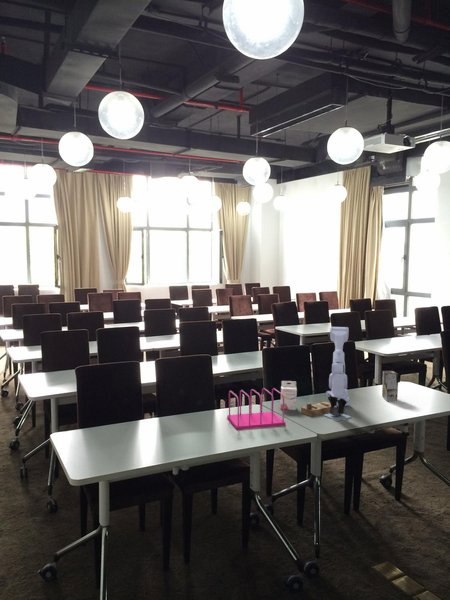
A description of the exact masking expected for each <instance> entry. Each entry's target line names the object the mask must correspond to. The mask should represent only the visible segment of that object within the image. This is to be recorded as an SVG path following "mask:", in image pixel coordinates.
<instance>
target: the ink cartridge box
mask: <svg viewBox="0 0 450 600" xmlns="http://www.w3.org/2000/svg"><path fill="white" fill-rule="evenodd" d="M297 388H298V387H297V381H295V380H294V381H292V380H281V386H280V393H282V394H283V396H284V410H286V411H287V410H288V411H290V410H291V411H297V401H298V400H297V398H298V397H297V395H298V389H297ZM280 410H283V397H282V395H281V394H280Z"/></svg>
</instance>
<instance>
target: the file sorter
mask: <svg viewBox="0 0 450 600" xmlns="http://www.w3.org/2000/svg"><path fill="white" fill-rule="evenodd" d="M252 391H253V392H254V393H256V394H257V395H258V397H259V412H252V411H253V410H252V408H253V407H252V402H253V401H252V400H253V399H252V397H253V396H252V395H253V392H252ZM264 391H266V392H267V393H268V394H269V395H271V411H265V412H263V401H264V397H263V396H264ZM274 391H275V392H276V393H278V394H280V396H281V395H282V397H283V409H282V418H281V417H280V416H279V415H278V414H277V413H275V412H274V403H275V401H274ZM242 393H243V394H245V396H247V397H248V413H242ZM231 394H232V395H233V396H234V397H236V401H237V402H236V403H237V414H231ZM249 394H250V395H249ZM249 394H248V393H247V392H245V391H244V390H243V389H241V390H239V396H238V395H237V394H236V393H234V391H232V390H229V391H228V414H227V416H226V419H227V420H228V422H230V423H231V425H232V426H233V427H234V428H235V429H236V431H237V430H246V429H249V430H250V429H259V428H260V429H261V428H271V427H272V426H273V427H282V426H281V425H284V426H286V421H285V409H284V396H283V394H282V393H281V391H279V390H278V389H276V388H275V387H273V388H272V389H271V392H270V390H268V389H266V388H265V387H263V388H261V394H260V393H259V392H257V391H256V390H255V389H253V388H251V389H250V393H249ZM273 427H272V428H273Z"/></svg>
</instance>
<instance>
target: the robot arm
mask: <svg viewBox="0 0 450 600" xmlns="http://www.w3.org/2000/svg"><path fill="white" fill-rule="evenodd" d="M329 329H330V330H329V332H330V333H329V337H330V341H331V342H333V343H334V351H333V353H332V364H331V373H330V374H329V378H328V388H329V389H330V390H327V391H326V392H325V394H326V396H328V397H327V400H328V401H329V403H330V404H331V407H333V406H336V405H338V406H339V413H343V410H344V407H348V406H350V403H349V402H350V400H351V399H350V398H351V397H349V395H350V394H349V390H348V375H347V374H346V363H345V352H344V351H343V349H344V343H347V342H348V340H349V333H350V332H349V327H348V326H330V328H329Z"/></svg>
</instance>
